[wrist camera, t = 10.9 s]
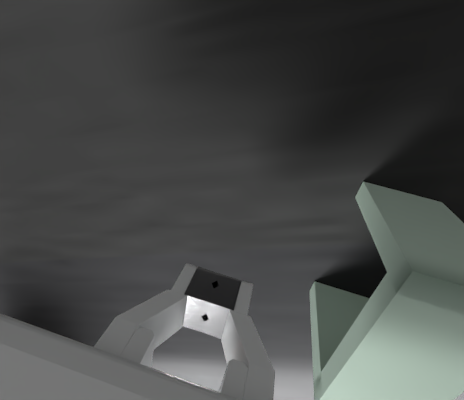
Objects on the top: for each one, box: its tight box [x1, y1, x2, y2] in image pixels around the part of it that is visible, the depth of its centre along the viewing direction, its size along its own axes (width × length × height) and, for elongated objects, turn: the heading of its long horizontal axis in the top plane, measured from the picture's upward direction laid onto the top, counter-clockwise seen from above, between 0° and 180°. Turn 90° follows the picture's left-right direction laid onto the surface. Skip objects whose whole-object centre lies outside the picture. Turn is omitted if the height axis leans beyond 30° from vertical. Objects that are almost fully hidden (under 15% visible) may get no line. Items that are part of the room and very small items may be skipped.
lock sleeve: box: [310, 181, 464, 400], centre depth 13 cm, size 8×4×7 cm, turn 169°
